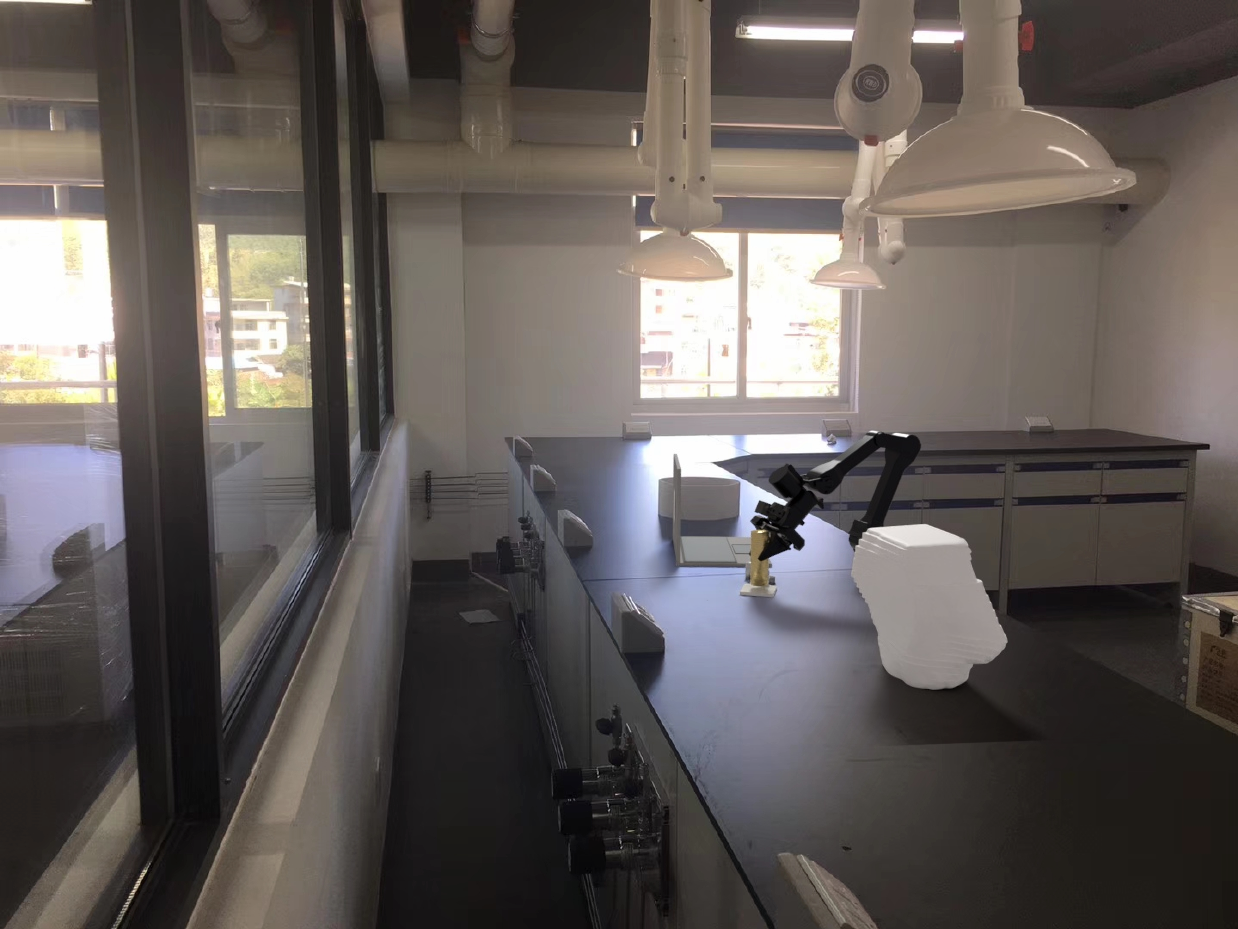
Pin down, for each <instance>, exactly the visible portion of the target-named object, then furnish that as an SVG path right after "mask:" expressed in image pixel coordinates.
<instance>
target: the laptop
mask: <svg viewBox="0 0 1238 929" xmlns="http://www.w3.org/2000/svg"><path fill="white" fill-rule="evenodd" d="M672 474H673V481H672V491H673V492H672V493H673V494H672V495H673V496H672V542H673V548H674V549H673V550H674V557H675V558H674V559H675V566H676V567H701V568H702V567H705V568H707V567H708V568H709V567H710V568H711V567H713V568H714V567H715V568H716V567H718V568H720V567H721V568H724V567H725V568H726V567H727V568H730V567H731V568H746V562H751V556H750V555H749V553H750V550H751V536H709V535H708V536H707V535H705V536H704V535H703V536H702V535H701V536H699V535H698V536H697V535H695V536H693V535H692V536H689V535H687V536H686V535H685V536H684V535H683V536H682V535H681V532H682V531H681V528H682V527H681V526H682V525H681V524H682V522H681V521H682V519H681V518H682V514H681V513H682V508H681V507H682V467H681V464H680V460H679V457H678V454H677V453H673V472H672ZM772 567H773V563H772V561H771V560H770V558H769V568H772Z"/></svg>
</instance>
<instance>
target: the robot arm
mask: <svg viewBox="0 0 1238 929" xmlns="http://www.w3.org/2000/svg"><path fill="white" fill-rule="evenodd" d="M879 449H884V460H885V461H884V462H885V464H884V467H883V469H882V472H881V474H880V477H879V479H878V482H877V484H876V486H875V489H874V492H873V494H872V497H871V499H870V503H869V505H868V507H867V510H866V512H865V514H864V516H862V518H861V519H856V518H855V519H854V520H853V522H852V525H851V528H850V529H849V531H848V533H847V534H848V542H849V545H850V547H851V548H852V550H853V553H854V552H855V546H857V545H859V539H862V533H864V532H866V531H867V530H868V529H869V528H876V527H885V520H886V517H887V515H888V512H889V510H890V509H891V508H890V507H891V505H892V502H893V500H894V498H895V496H896V492H897V490H898V488H899V485H900V482H901V480H902V477H903V475H904V473H905V471H906V470H907V468H909V466H911V465H912V464H913V463H915V461H916V459H917V457H918V455H919V454H920V452H921V449H922V443H921V441H920V438H919V436H917V435H915V434H911V433H902V432H894V433H892V434H889V433H885V432H884V431H879V430H870V431H868V432H866V434H864V436H862V437H861V438H860V439H859V440H857V441H856V442H855V443H853V444H852V445H851V446H850V447H848V448H847V449H845V450H844V451H843V452H842V453H840V454H839V455H838V456H837V457H835V458H834V459H832V460H831V461H828V462H826V463H822V464H819V465H818V466H816V467H813V468H812V469H809V471H808V472H807V473H805V474H800V473H799V472H798V471H797V470H796V469H795V467H794V466H793V465H792V464H791V463H785V464H784V465H783V466H780V467H778V468H777V469H775V470H773V471H772V473H771V474H770V476H769V477H768V483H769V484H770V485H771V486H772V487H773V488H774V489H775V490H776V491H777V492H778V494H779V495H780V496H781V497H782V498H784V499H789V500H788V501H787V502H786V503H785V504H781V503H779V502H776V501H773V502H772V503H768V502H766V501H763V500H760V499H759V500H758V502H757V505H756V507H755V508H754V511H753V512H754V513H756V514H758V515H754V516H753V517H752V518H751V519H750V521H749V522H750V523H751V524H752V525H753V526H754V528H755V530H766V531H769V542H768V544H767V545H766V547H765V548H764V549H763V551H762V552H761V554H760V555H759V557H758V560H759V561H763V560H766V559H768V558H769V559H770V558H772V557H774V556H777V555H779V554H782V553H784V552H787V551H791V550H792V548H793V549H794V550H795V551H798V552H800V551H801V550H803V548H804V547H805V544H806V540H805V539H804V538H803V536H801V534H800V533H799V532H798V531H797V530H796V529H797V528H798V527H799V525H800V526H804V525H805V524H806V522H805V521H804V520H805V519H806V518H807V516H808V515H809V514H810V513H811V512H812V510H813V509H814V508H816V509H820V510H824V509H825V504H824V498H823V497H819V496H817V494H815V493H818V494H820V495H826V496H828V495H830V494H832V493H833V492H835V490H836V489H837V488H838V487H839V486H840V485H841V484H842V482H843V480H844V478H845V476H846V475H847V474H848V473H849V472H851V471H852V470H853V469H854V468H856V467H857V466H858V465H860V464H861V463H862V462H864V461H865V460H866V459H868V458H869V457H870V456H872V455H873V454H874V453H876V451H878V450H879ZM806 488H807V489H808V490H807V489H806ZM791 545H793V546H792V548H791ZM749 555H750V556H751V550H750V553H749Z"/></svg>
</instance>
